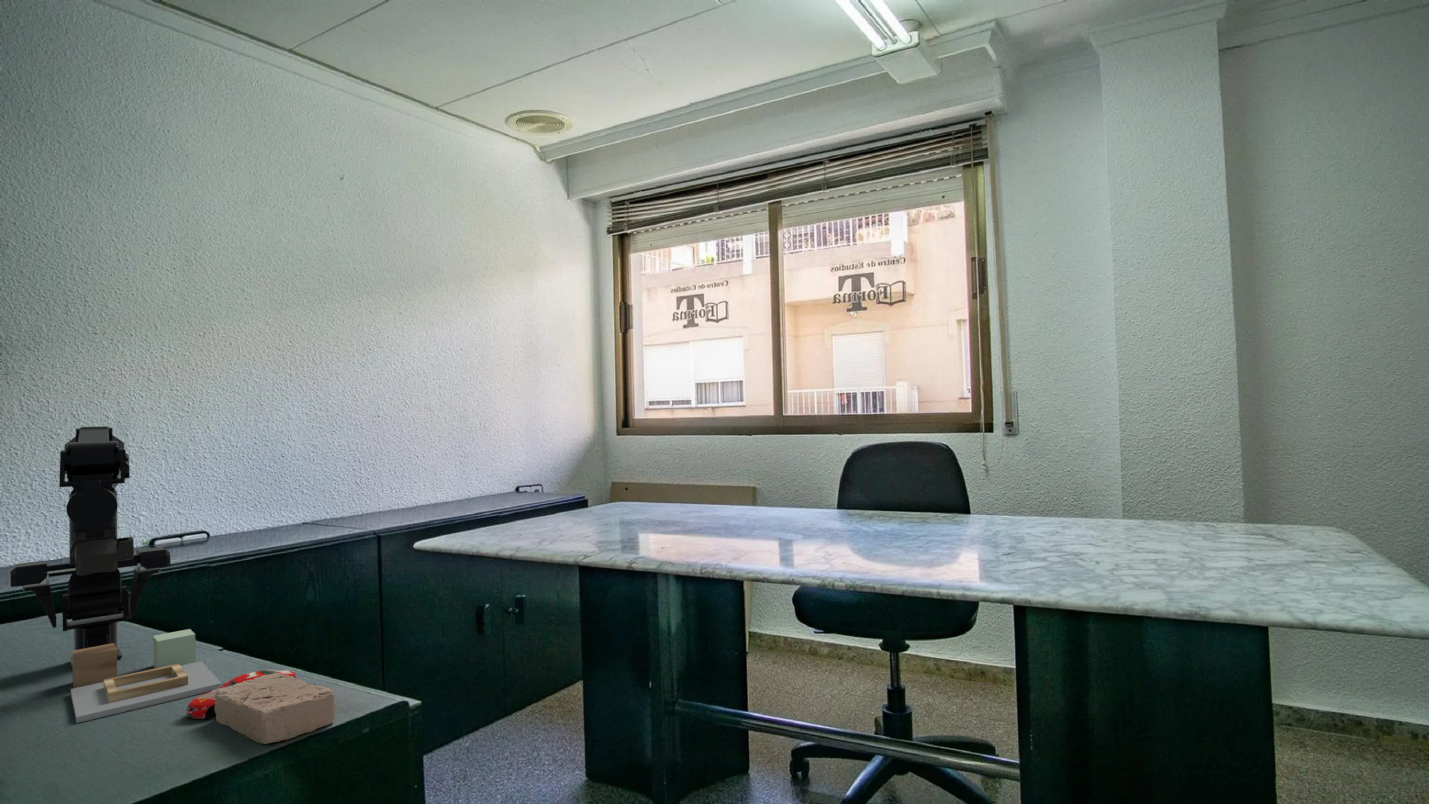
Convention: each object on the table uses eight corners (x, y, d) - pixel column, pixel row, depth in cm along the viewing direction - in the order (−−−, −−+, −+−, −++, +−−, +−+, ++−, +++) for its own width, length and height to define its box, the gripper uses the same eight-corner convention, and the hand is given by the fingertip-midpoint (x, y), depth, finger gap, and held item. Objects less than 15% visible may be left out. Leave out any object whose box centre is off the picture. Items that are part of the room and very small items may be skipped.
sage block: (153, 665, 118) (153, 635, 118) (190, 658, 121) (190, 628, 121) (157, 672, 114) (157, 641, 114) (195, 664, 118) (195, 634, 118)
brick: (211, 722, 93) (210, 686, 93) (280, 700, 100) (279, 667, 100) (266, 752, 83) (265, 712, 83) (338, 726, 90) (337, 689, 90)
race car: (192, 727, 92) (192, 696, 92) (181, 717, 95) (180, 687, 95) (303, 694, 102) (302, 666, 102) (289, 687, 105) (288, 660, 105)
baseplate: (70, 694, 105) (70, 680, 105) (201, 665, 116) (201, 653, 116) (76, 723, 94) (76, 707, 94) (221, 688, 105) (221, 674, 105)
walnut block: (72, 682, 111) (72, 650, 111) (114, 674, 114) (113, 643, 114) (74, 690, 107) (74, 657, 107) (117, 681, 111) (117, 648, 111)
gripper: (9, 533, 99) (10, 645, 99) (175, 517, 113) (176, 616, 112) (10, 527, 107) (11, 630, 107) (165, 513, 120) (166, 605, 120)
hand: (94, 620), depth 111 cm, fingers open, 9 cm apart
